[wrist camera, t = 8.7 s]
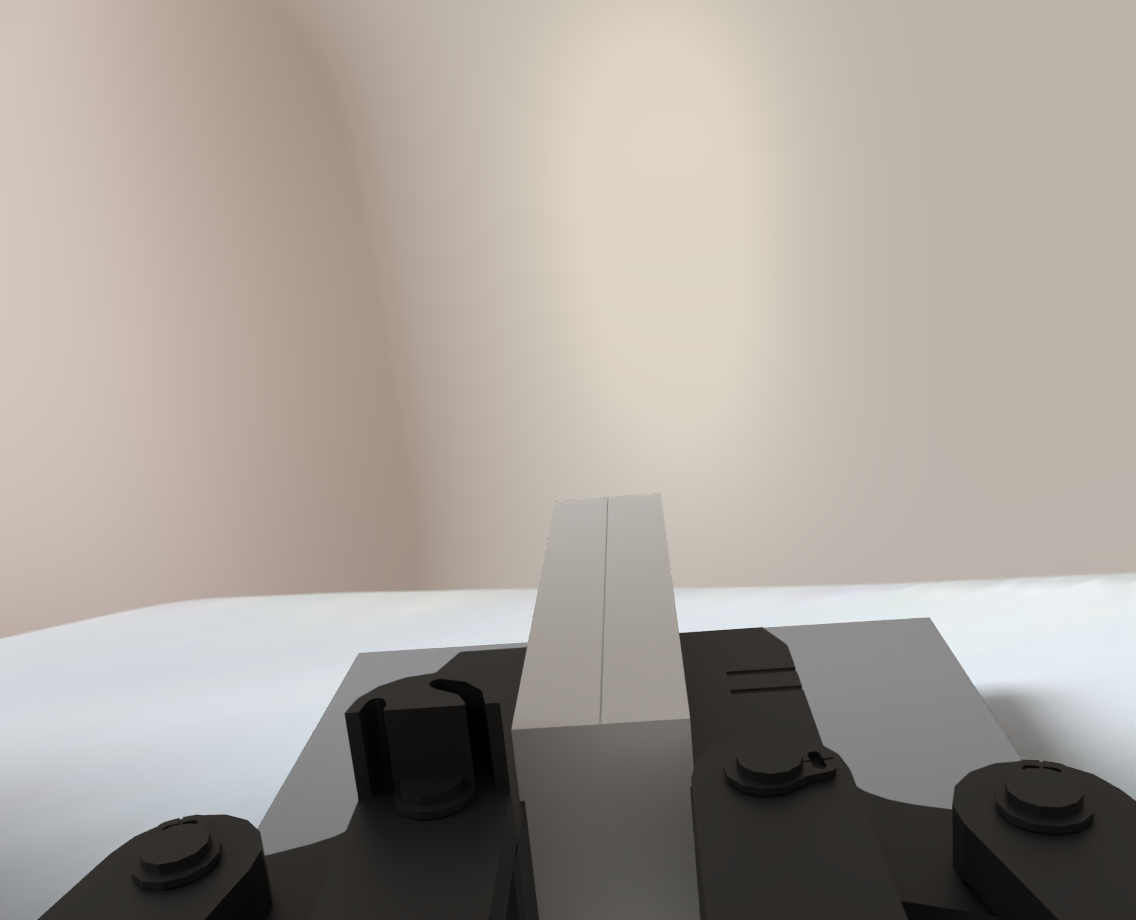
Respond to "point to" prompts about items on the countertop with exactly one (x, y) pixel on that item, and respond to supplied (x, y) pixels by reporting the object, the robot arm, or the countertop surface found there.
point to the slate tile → (829, 679)
